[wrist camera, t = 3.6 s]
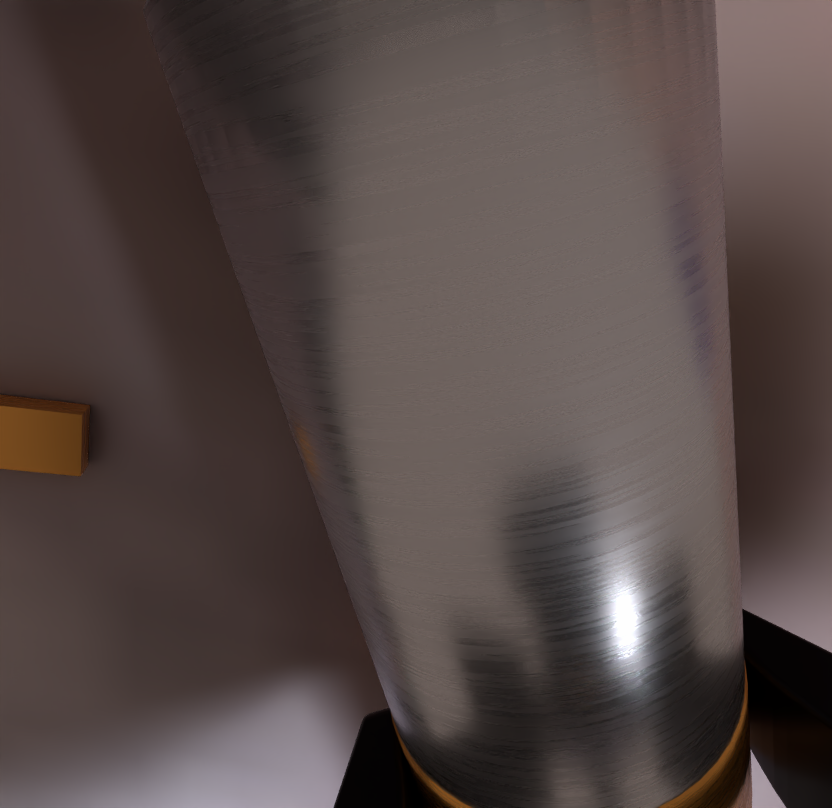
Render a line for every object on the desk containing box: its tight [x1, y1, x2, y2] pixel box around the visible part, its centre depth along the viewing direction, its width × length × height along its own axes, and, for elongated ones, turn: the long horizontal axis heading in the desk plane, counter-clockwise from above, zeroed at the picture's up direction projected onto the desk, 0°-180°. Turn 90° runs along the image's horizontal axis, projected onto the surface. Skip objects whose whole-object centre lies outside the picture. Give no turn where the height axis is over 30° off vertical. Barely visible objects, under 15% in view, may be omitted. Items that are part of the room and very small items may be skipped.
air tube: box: [143, 0, 752, 808], centre depth 8 cm, size 16×4×4 cm, turn 14°
